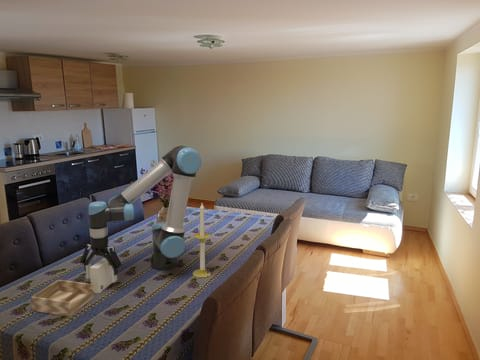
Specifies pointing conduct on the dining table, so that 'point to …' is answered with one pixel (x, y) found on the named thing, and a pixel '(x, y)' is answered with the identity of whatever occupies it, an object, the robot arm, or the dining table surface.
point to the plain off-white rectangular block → (101, 275)
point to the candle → (201, 246)
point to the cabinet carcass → (62, 297)
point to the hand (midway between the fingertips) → (101, 279)
